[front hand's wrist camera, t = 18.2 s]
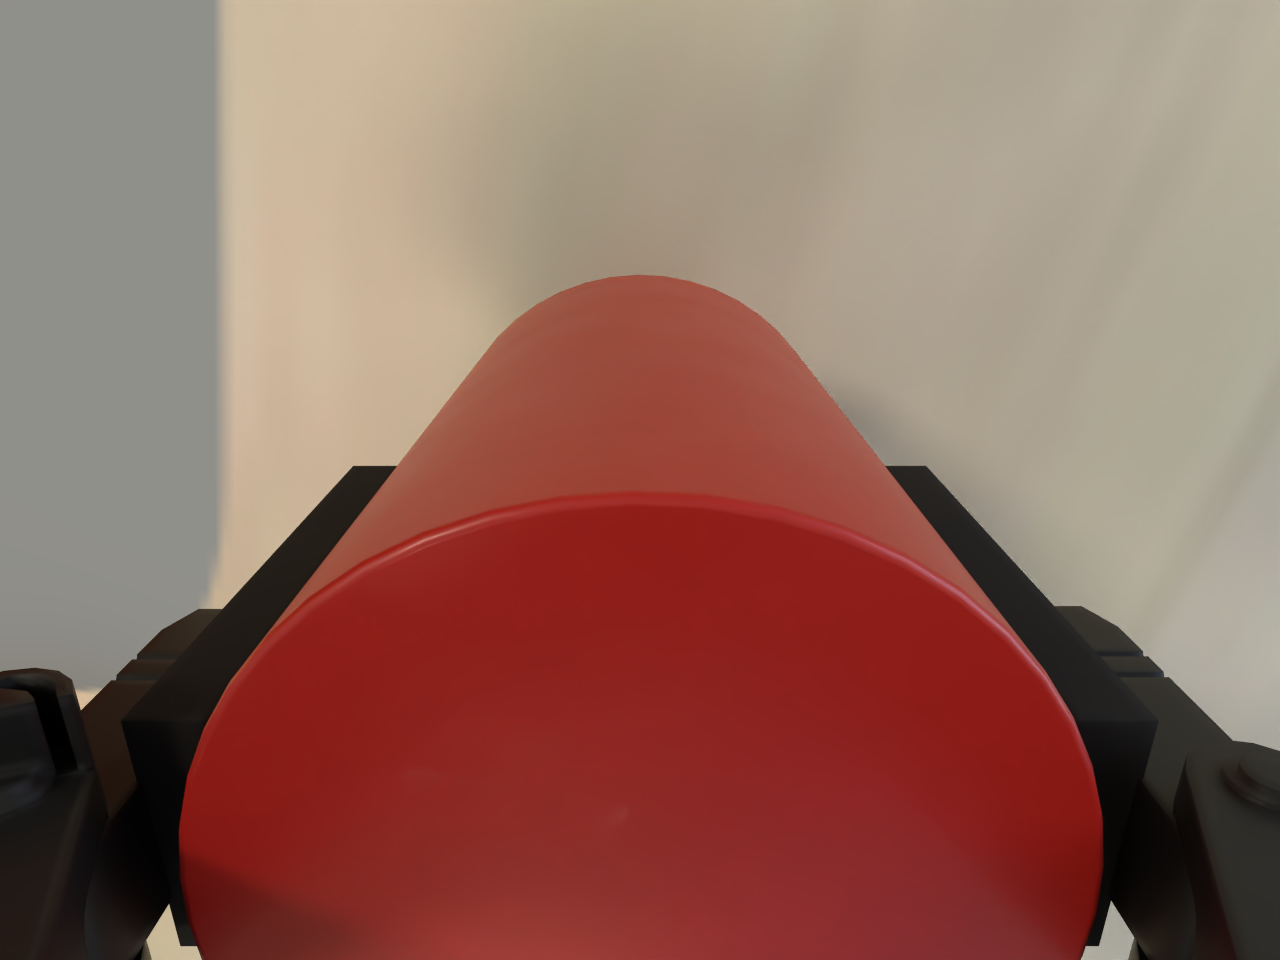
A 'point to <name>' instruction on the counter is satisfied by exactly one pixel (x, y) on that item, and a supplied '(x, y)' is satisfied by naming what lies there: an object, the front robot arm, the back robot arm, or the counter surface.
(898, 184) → the counter surface
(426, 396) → the counter surface
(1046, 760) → the tin
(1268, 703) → the counter surface
